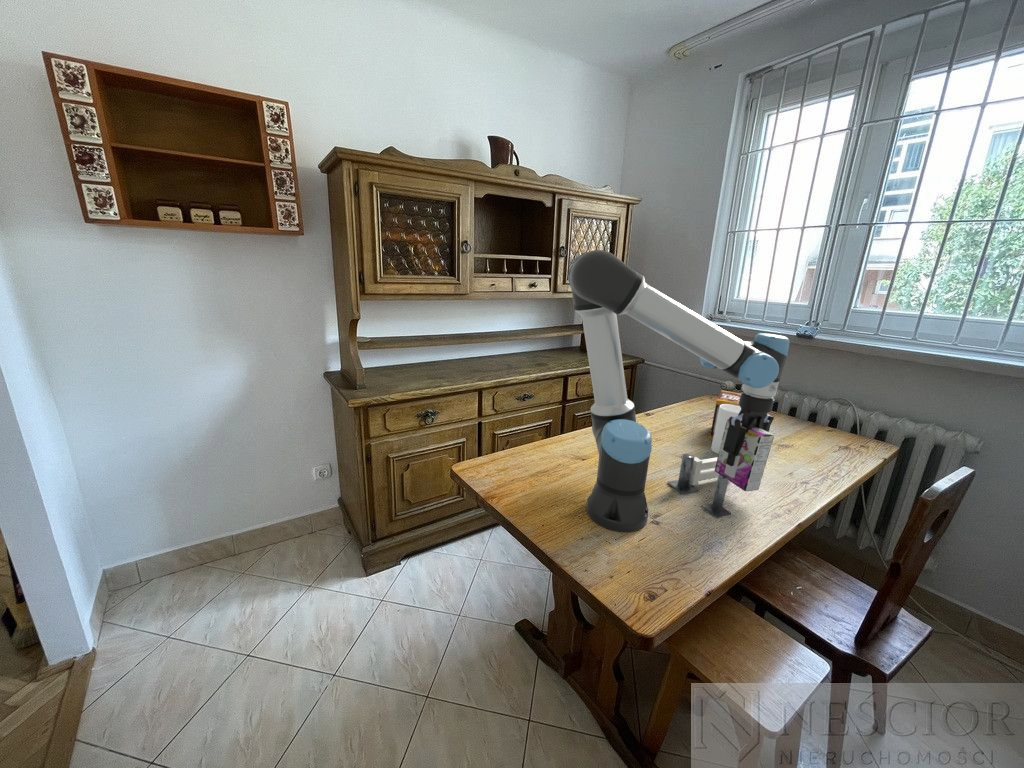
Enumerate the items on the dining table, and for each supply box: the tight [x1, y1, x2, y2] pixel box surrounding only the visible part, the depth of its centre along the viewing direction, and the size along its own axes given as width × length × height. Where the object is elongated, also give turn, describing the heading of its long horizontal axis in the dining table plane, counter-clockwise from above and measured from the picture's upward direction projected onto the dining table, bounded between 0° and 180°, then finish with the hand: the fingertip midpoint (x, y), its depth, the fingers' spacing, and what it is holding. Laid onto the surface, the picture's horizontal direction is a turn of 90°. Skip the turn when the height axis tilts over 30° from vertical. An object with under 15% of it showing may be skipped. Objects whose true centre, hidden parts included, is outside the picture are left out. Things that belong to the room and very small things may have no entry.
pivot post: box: [667, 453, 700, 496], centre depth 114 cm, size 6×6×10 cm
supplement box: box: [708, 389, 741, 441], centre depth 150 cm, size 10×15×16 cm
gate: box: [690, 456, 720, 486], centre depth 117 cm, size 16×2×8 cm, turn 110°
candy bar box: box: [714, 419, 775, 492], centre depth 108 cm, size 11×5×16 cm, turn 17°
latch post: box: [701, 475, 733, 519], centre depth 103 cm, size 5×5×10 cm
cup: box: [710, 404, 741, 454], centre depth 137 cm, size 8×8×16 cm
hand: (737, 474), depth 110 cm, fingers closed on candy bar box, 5 cm apart
